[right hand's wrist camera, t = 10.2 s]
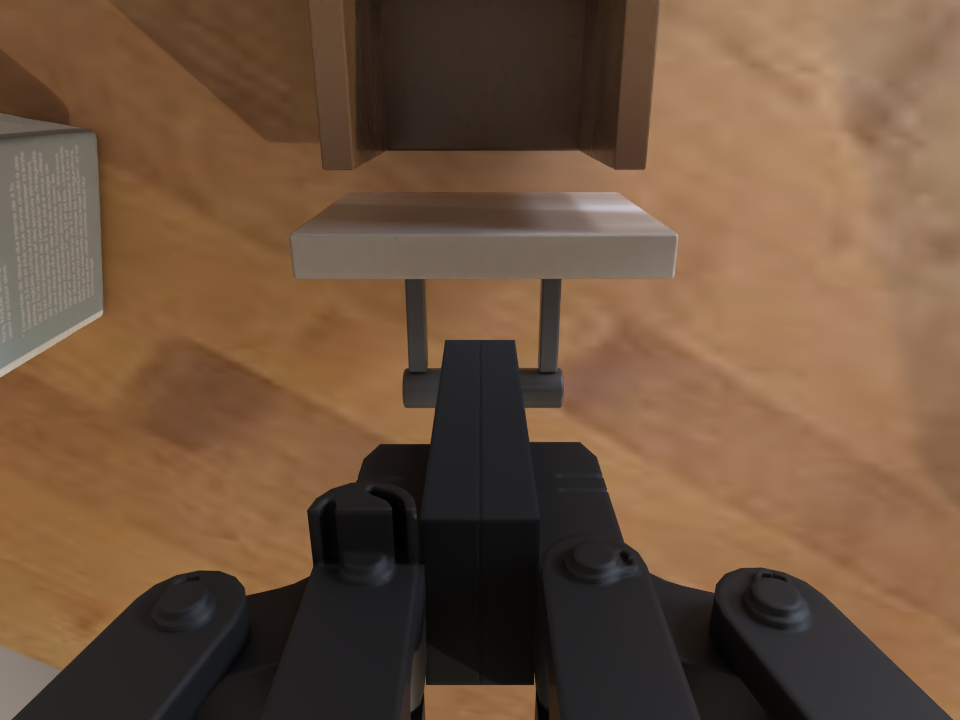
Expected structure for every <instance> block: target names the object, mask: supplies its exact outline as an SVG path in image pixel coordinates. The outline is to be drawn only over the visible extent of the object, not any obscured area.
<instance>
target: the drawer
mask: <svg viewBox="0 0 960 720" xmlns="http://www.w3.org/2000/svg"><path fill="white" fill-rule="evenodd" d="M308 4H309V16H310V27H311V39H312V51H313V63H314V74H315V86H316V98H317V110H318V121H319V133H320V145H321V157H322V167H323V169H324V170H353V169H355V168H357V167H358V166H360V165H362V164H364V163H365V162H367V161H369V160H371V159H373V158H374V157H376V156H378V155H380V154H381V153H383V152H385V151H581V152H583V153H584V154H586V155H588V156H590V157H592V158H594V159H596V160H598V161H600V162H601V163H603V164H605V165H607V166H609V167H611V168H613V169H615V170H644V169H645V168H646V159H647V147H648V136H649V125H650V113H651V102H652V91H653V79H654V68H655V57H656V45H657V34H658V23H659V11H660V0H308ZM289 238H290V247H291V257H292V266H293V275H294V278H296V279H405V291H406V314H407V337H408V360H409V368H407V369H405V370H404V374H403V403H404V406H405V407H406V408H436V402H437V395H438V388H439V381H440V374H441V368H428V347H427V315H426V284H425V279H541V291H540V321H539V350H538V367H539V368H519V374H520V381H521V388H522V395H523V402H524V408H560V407H562V404H563V396H564V381H563V373H562V370H561V369H560V368H557V365H558V343H559V321H560V299H561V279H671V278H673V277H674V273H675V264H676V255H677V246H678V234H677V233H676V232H674V231H673V230H671V229H670V228H668V227H667V226H665V225H664V224H662V223H661V222H660V221H658V220H657V219H655V218H654V217H652V216H651V215H649V214H648V213H646V212H645V211H644V210H642V209H641V208H639V207H638V206H636V205H635V204H633V203H632V202H630V201H629V200H628V199H626V198H625V197H623V196H622V195H620V194H619V193H617V192H349V193H347V194H345V195H344V196H343V197H341V198H340V199H338V200H337V201H336V202H334V203H333V204H332V205H330V206H329V207H327V208H326V209H325V210H323V211H322V212H320V213H319V214H318V215H316V216H315V217H313V218H312V219H311V220H309V221H308V222H306V223H305V224H304V225H302V226H301V227H300V228H298V229H297V230H295V231H294V232H293V233H291V234H290V236H289Z"/></svg>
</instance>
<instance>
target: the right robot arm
mask: <svg viewBox="0 0 960 720" xmlns="http://www.w3.org/2000/svg"><path fill="white" fill-rule="evenodd" d="M307 513H308V522H309V531H310V540H311V548H312V557H313V569H312V572H311V575H310V576H309V577H307V578H305V579H303V580H301V581H299V582H297V583H295V584H291V585H288V586H285V587H282V588H278V589H274V590H270V591H265V592H261V593H256V594H252V595H248V596H246V594H245V588H244V586H243V585H242V584H241V583H240V582H239V581H238V579H237V578H236V577H234V576H231V575H229V574H226V573H223V572H221V571H195V572H190V573H185V574H181V575H176V576H174V577H172V578H170V579H167V580H165V581H163V582H161V583H158V584H156V585H154V586H153V587H152V588H150V589H149V590H148V591H146V592H145V593H143V594H142V595H141V596H139V597H138V598H137V599H136V600H135V601H134V602H133V603H132V604H131V605H129V606H128V607H127V608H126V609H125V610H124V611H123V612H122V613H121V614H120V615H119V616H118V617H117V618H116V619H115V620H114V621H113V622H112V623H111V624H110V625H109V626H108V627H107V628H106V629H105V630H104V631H103V632H102V633H101V634H100V635H99V636H98V637H96V638H95V639H94V640H93V641H92V642H91V643H90V644H89V645H88V646H87V647H86V648H85V649H84V650H83V651H82V652H81V653H80V654H79V655H78V656H77V657H76V658H75V659H74V660H73V661H72V662H71V663H70V664H69V665H68V666H67V667H66V668H65V669H63V670H62V671H61V672H60V673H59V674H58V675H57V676H56V677H55V678H54V679H53V680H52V681H51V682H50V683H49V684H48V685H47V686H46V687H45V688H44V689H43V690H42V691H41V692H40V693H39V694H38V695H37V696H36V697H35V698H34V699H33V700H32V701H30V702H29V703H28V704H27V705H26V706H25V707H24V708H23V709H22V710H21V711H20V712H19V713H18V714H17V715H16V716H15V717H14V718H13V719H12V720H425V704H424V686H425V675H426V685H534V672H535V683H536V703H535V720H953V719H952V718H951V717H950V716H949V715H948V714H947V713H946V712H945V711H943V710H942V709H941V708H940V707H939V706H938V705H937V704H936V703H935V702H934V701H933V700H932V699H931V698H930V697H929V696H928V695H927V694H926V693H925V692H924V691H923V690H922V689H921V688H920V687H919V686H918V685H916V684H915V683H914V682H913V681H912V680H911V679H910V678H909V677H908V676H907V675H906V674H905V673H904V672H903V671H902V670H901V669H900V668H899V667H898V666H897V665H896V664H895V663H894V662H893V661H892V660H890V659H889V658H888V657H887V656H886V655H885V654H884V653H883V652H882V651H881V650H880V649H879V648H878V647H877V646H876V645H875V644H874V643H873V642H872V641H871V640H870V639H869V638H868V637H867V636H866V635H865V634H863V633H862V632H861V631H860V630H859V629H858V628H857V627H856V626H855V625H854V624H853V623H852V622H851V621H850V620H849V619H848V618H847V617H846V616H845V615H844V614H843V613H842V612H841V611H840V610H839V609H837V608H836V607H835V606H834V605H833V604H832V603H831V602H830V601H829V600H828V599H827V598H826V597H825V596H824V595H823V594H821V593H820V592H819V591H817V590H816V589H814V588H813V587H812V586H810V585H809V584H808V583H806V582H804V581H802V580H800V579H798V578H795V577H793V576H791V575H789V574H786V573H784V572H779V571H775V570H770V569H765V568H740V569H738V570H735V571H732V572H729V573H727V574H725V575H724V576H723V577H722V578H721V579H720V581H719V582H718V583H717V584H716V588H715V593H712V592H707V591H703V590H698V589H694V588H689V587H685V586H681V585H678V584H674V583H671V582H668V581H665V580H663V579H661V578H659V577H657V576H655V575H653V574H651V573H649V571H648V568H647V565H646V564H645V562H644V561H643V559H642V558H641V556H640V555H639V553H638V552H637V551H635V550H634V549H632V548H631V547H630V546H628V545H627V544H625V543H624V540H623V537H622V534H621V531H620V528H619V525H618V522H617V519H616V516H615V513H614V509H613V506H612V503H611V500H610V497H609V494H608V492H607V488H606V485H605V482H604V479H603V478H602V473H601V470H600V466H599V463H598V460H597V457H596V456H595V455H594V454H593V453H591V452H590V451H589V450H588V449H587V448H586V447H585V446H584V445H582V444H581V443H580V442H529V437H528V430H527V423H526V416H525V409H524V402H523V395H522V388H521V381H520V374H519V367H518V360H517V353H516V346H515V340H445V346H444V353H443V360H442V367H441V374H440V381H439V388H438V395H437V402H436V409H435V416H434V423H433V430H432V437H431V444H380V445H379V446H378V447H377V448H376V449H374V450H373V451H372V452H371V453H370V454H369V455H368V456H367V457H366V458H364V460H363V463H362V466H361V469H360V472H359V475H358V480H357V482H356V483H349V484H346V485H343V486H340V487H337V488H333V489H331V490H329V491H328V492H326V493H324V494H323V495H321V496H320V497H318V498H316V500H315V501H314V502H313V503H312V505H311V506H310V507H309V509H308V510H307Z"/></svg>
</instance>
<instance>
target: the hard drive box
mask: <svg viewBox="0 0 960 720" xmlns="http://www.w3.org/2000/svg"><path fill="white" fill-rule="evenodd" d="M102 315H103V280H102V249H101V224H100V193H99V172H98V155H97V138H96V134H95V133H94V132H93V131H91V130H88V129H84V128H80V127H75V126H69V125H63V124H58V123H52V122H46V121H39V120H33V119H26V118H22V117H18V116H13V115H8V114H3V113H0V377H2V376H3V375H5V374H7V373H8V372H10V371H12V370H13V369H15V368H17V367H18V366H20V365H22V364H23V363H25V362H27V361H28V360H30V359H31V358H33V357H35V356H36V355H38V354H40V353H42V352H43V351H45V350H46V349H48V348H50V347H51V346H53V345H55V344H56V343H58V342H59V341H61V340H63V339H65V338H66V337H68V336H69V335H71V334H72V333H74V332H76V331H77V330H79V329H81V328H82V327H84V326H86V325H87V324H89V323H91V322H92V321H94V320H96V319H98V318H99V317H101V316H102Z"/></svg>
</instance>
